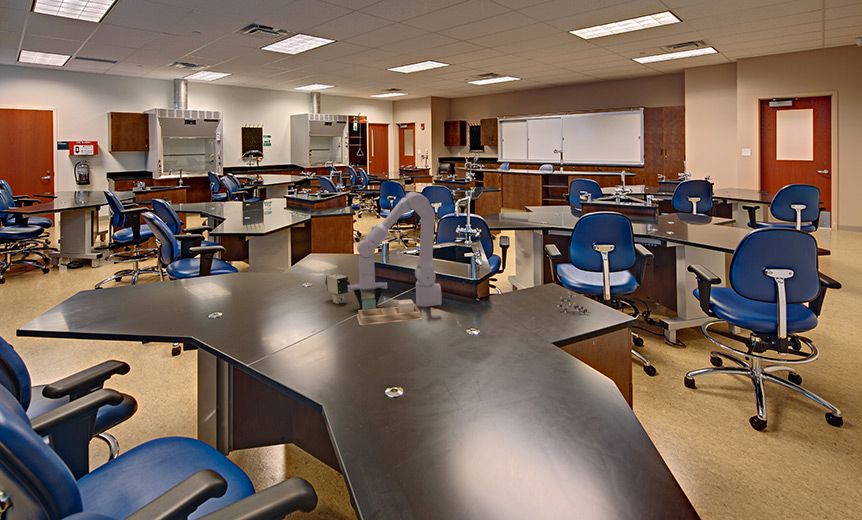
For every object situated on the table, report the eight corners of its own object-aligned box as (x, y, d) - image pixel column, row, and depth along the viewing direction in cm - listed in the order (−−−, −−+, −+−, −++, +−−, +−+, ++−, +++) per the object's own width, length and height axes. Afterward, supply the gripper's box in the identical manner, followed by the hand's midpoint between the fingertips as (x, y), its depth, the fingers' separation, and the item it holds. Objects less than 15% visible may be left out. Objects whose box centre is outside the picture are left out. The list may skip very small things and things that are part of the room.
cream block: (411, 312, 182) (411, 299, 181) (414, 316, 177) (413, 303, 176) (397, 313, 181) (397, 300, 180) (400, 317, 176) (399, 304, 175)
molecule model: (588, 322, 177) (596, 301, 178) (556, 309, 179) (564, 288, 180) (585, 322, 183) (593, 302, 184) (554, 309, 185) (562, 289, 186)
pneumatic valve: (341, 306, 195) (339, 277, 193) (325, 301, 204) (324, 272, 201) (353, 304, 199) (351, 274, 196) (337, 298, 207) (336, 270, 205)
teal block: (374, 309, 191) (374, 296, 190) (376, 313, 186) (375, 300, 185) (361, 310, 190) (360, 297, 189) (362, 314, 185) (362, 301, 184)
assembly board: (416, 312, 186) (416, 304, 185) (423, 322, 175) (423, 313, 174) (356, 317, 181) (356, 309, 181) (360, 328, 170) (359, 319, 169)
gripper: (384, 269, 190) (386, 303, 193) (346, 271, 187) (348, 306, 190) (387, 273, 184) (389, 308, 186) (347, 276, 181) (349, 312, 183)
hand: (368, 308), depth 188 cm, fingers closed on teal block, 5 cm apart
